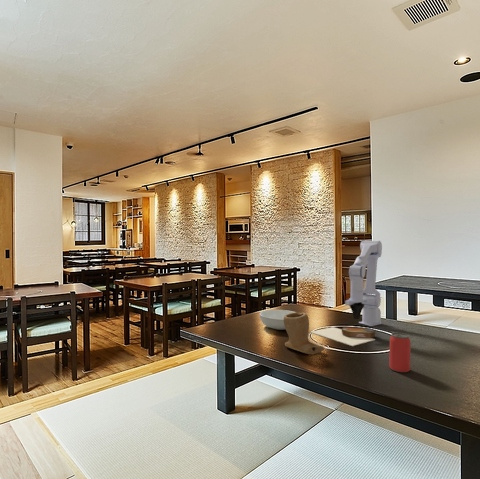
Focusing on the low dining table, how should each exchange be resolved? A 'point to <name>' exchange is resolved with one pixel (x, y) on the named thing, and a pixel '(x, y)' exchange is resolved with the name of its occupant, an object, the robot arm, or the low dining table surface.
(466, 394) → the low dining table surface
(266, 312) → the serving bowl
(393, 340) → the beer can
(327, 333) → the mat
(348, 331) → the tin
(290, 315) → the tan boot-shaped piece
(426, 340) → the low dining table surface
